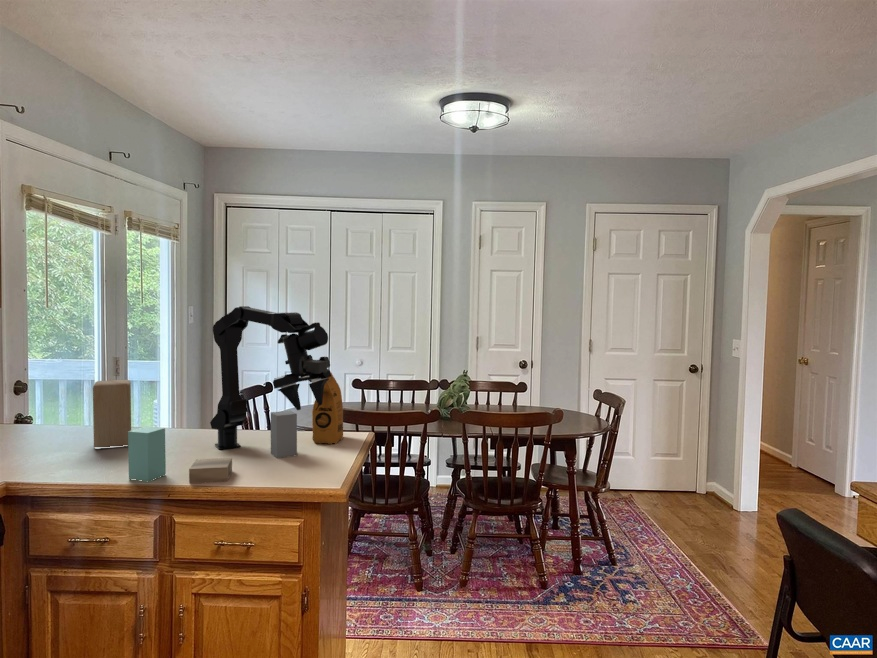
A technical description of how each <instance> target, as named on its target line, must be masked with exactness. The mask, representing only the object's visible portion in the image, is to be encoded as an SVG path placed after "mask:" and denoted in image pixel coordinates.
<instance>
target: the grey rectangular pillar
mask: <svg viewBox="0 0 877 658" xmlns="http://www.w3.org/2000/svg"><path fill="white" fill-rule="evenodd" d="M270 454H271V455H272V456H273V455H274V456H273V457H275V459H282V458H281V457H283V458H288V457H287V456H290V457H295V456H294V455H297V456H298V414H297V413H296V412H294V411H292V410H283V411H282V410H281V411H280V410H279V411H271V412H270Z"/></svg>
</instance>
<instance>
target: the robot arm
mask: <svg viewBox="0 0 877 658" xmlns="http://www.w3.org/2000/svg"><path fill="white" fill-rule="evenodd" d="M249 322H250V323H251V322H252V323H257V324H262V325H267V326H269V327H271V329H273V330H274V331H276V332H279V333H285V334H281V335H280V337H279V339H278V340H277V344H284V345H283V346H284V350H285V352H286V357H287V360H285V362H284V363H285V365H288V366H289V369H290V373H287V374H283V375H281V376H278V377H274V379H273V381H272V386H273V389H277V391H278V392H281V393H282V395H283V396H284V397H285V398H286V399H287V400H288V401H289V402H290V403H291V404H292V406H294V409H296V410H297V411H300V410H301V409H302V408H301V406H302V405H301V400H300V396H299V388H300V386H301V384H300V382H307V381H308V382H309V383H308V386H309V389H310V390H311V393H312V394H313V397H314V399H315V400H316V401H317V403H318V405H322V402H323V391H324V385H325V384H326V382H327V381H328V380H329V377H332V376H331V373H332V372H331V370H330V369H329V368H330V367H331V362H330V359H329V357H328V356H321V357H319V358H318V359H313V356H312V354H308V351H311V350H314V349H317V348H320V347H323V346H326V345H327V344H328V341H329V335H328V333H327V332H326V329H325V328H324V327H323V326H321V323H320V322H313V323H311V324H309V323H308V322H306V320H304V318H303V317H302V314H301V313H300V312H274V311H269V310H264V309H259V308H255V307H250V306H248V305H247V306H243V305H242V306H239V305H238V306H236V307H234V308H233V309H232V310H231V312H228V313H227V314H224V315H223V316H221V318H219V320H217V321H215V323H214V324H213V326H212V333H213V339H214V342H215V343H216V345H217V346H218V348H219V351H220V353H219V354H220V370H221V371H220V373H221V388H222V389H221V392H222V393H221V394H222V395H221V397H220V400H219V402H218V403H217V410H216V411H217V412H216V414H215V415H214V417H213V418H212V419H211V420H210V422H209V424H210V426H211V429H212V430H217V442H216V443H214V446H215V447H216V448H217V449H218V450H228V449H235V448H236V449H237V448H240V447H241V446H242V445H241V444H240V443H239V442H238V427H239V426H240V427H241V426H243V425H244V423H245V418H246V417H247V412H249V410H248V401H247V399H246V398H243V397H242V396H241V393H240V380H239V379H240V377H239V376H240V375H239V361H238V360H239V359H238V358H239V357H238V348H239V346H240V343H241V342H242V339H243V332H244V330H245V329H246V328H247V327H248V326H249ZM286 333H288V334H286ZM326 378H328V379H326Z"/></svg>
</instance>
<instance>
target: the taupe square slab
mask: <svg viewBox="0 0 877 658" xmlns="http://www.w3.org/2000/svg"><path fill="white" fill-rule="evenodd" d="M232 473H233V458H232V457H224V458H222V457H220V458H201V459H198V458H197V459H195V460H194V462H193V463H192V465H191V466H190V467H189V469H188V475H189V476H188V480H189V481H188V483H192V484H205V482H206V483H210V482H211V483H226V482H227V483H228V480H229V478H230V477H231V475H232Z"/></svg>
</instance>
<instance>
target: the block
mask: <svg viewBox="0 0 877 658" xmlns="http://www.w3.org/2000/svg"><path fill="white" fill-rule="evenodd" d="M131 384H132V383H131V380H129V379H113V380H111V379H110V380H97V381H95V382H94V384H93V387H92V413H93V414H92V415H93V416H92V419H93V420H92V422H93V428H92V429H93V448H94V447H110V446H123V445H128V431H132V394H131V393H132V390H131V389H132V387H131V386H132V385H131Z"/></svg>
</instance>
